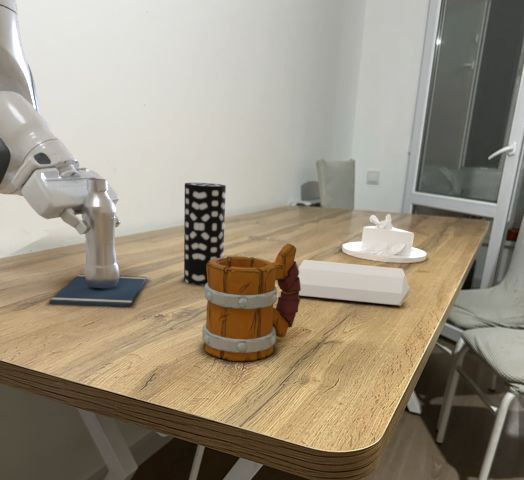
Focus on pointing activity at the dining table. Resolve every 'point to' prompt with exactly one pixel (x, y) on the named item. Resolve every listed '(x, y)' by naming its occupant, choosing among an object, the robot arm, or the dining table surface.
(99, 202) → the silver metal bottle
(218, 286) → the mug
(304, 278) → the white hexagonal prism
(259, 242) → the dining table surface
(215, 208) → the white-spotted black cylinder
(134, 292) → the towel
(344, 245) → the dish
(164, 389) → the dining table surface
